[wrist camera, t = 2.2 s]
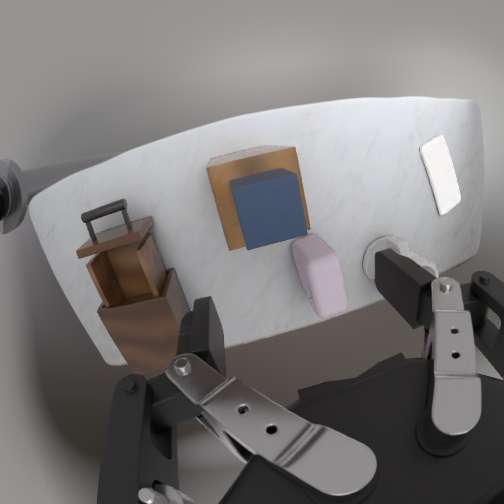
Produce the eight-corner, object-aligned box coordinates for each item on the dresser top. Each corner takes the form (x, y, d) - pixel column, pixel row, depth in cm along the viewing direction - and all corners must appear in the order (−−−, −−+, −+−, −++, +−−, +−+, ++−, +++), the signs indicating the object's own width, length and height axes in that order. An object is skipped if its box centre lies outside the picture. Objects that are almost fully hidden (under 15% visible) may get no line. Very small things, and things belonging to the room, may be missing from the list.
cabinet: (114, 282, 43) (96, 311, 34) (174, 267, 43) (165, 296, 35) (143, 341, 48) (134, 374, 40) (199, 331, 48) (197, 365, 40)
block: (241, 230, 25) (247, 250, 21) (228, 180, 23) (231, 189, 19) (292, 218, 25) (307, 234, 21) (281, 167, 23) (297, 173, 19)
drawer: (86, 209, 37) (64, 222, 30) (143, 189, 37) (128, 199, 30) (122, 300, 43) (110, 324, 37) (176, 287, 43) (170, 313, 37)
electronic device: (286, 240, 44) (305, 267, 34) (313, 230, 44) (338, 255, 34) (301, 290, 48) (319, 324, 38) (325, 281, 48) (348, 313, 38)
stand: (224, 210, 41) (229, 251, 26) (210, 158, 37) (206, 167, 23) (276, 197, 41) (310, 229, 26) (264, 145, 38) (295, 146, 23)
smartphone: (442, 133, 38) (461, 200, 44) (440, 133, 39) (459, 199, 45) (420, 147, 39) (441, 217, 45) (417, 147, 40) (438, 216, 45)
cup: (346, 264, 47) (379, 299, 36) (374, 221, 44) (415, 246, 33) (382, 285, 50) (416, 318, 39) (407, 246, 47) (446, 273, 36)
